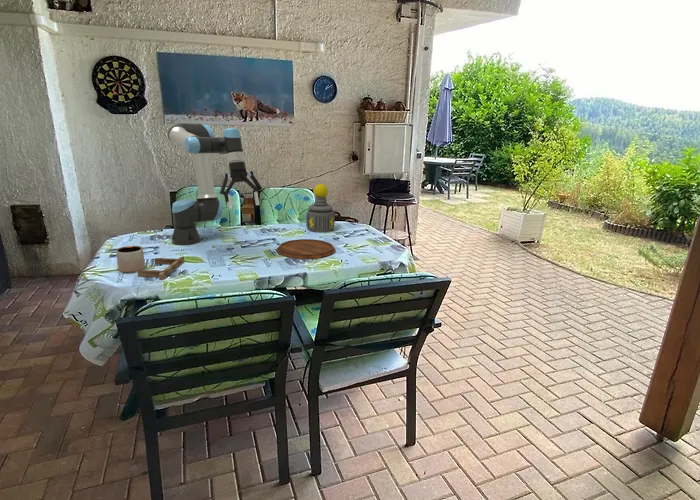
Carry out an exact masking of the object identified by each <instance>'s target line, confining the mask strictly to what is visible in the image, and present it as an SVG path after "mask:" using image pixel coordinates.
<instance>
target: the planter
mask: <svg viewBox="0 0 700 500" xmlns="http://www.w3.org/2000/svg"><path fill="white" fill-rule="evenodd" d="M115 254H116V255H115V256H116V263H117V269H118V271H119V272H121V273H124V274H125V273H126V274H127V273H129V274H131V273H137V271H138V270H145V268H146V263H145V262H146V261H145V256H144V255H145V254H144V248H143V247H142V246H140V245H128V246H121V247H118V248H117V249H115Z"/></svg>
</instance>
